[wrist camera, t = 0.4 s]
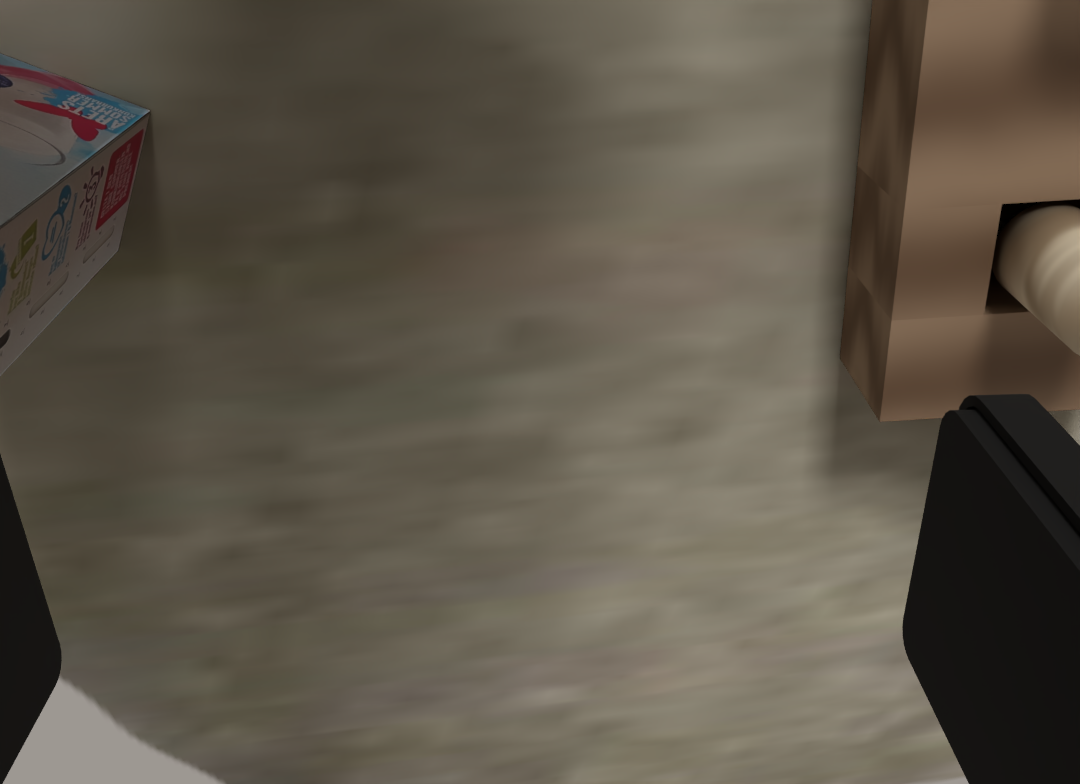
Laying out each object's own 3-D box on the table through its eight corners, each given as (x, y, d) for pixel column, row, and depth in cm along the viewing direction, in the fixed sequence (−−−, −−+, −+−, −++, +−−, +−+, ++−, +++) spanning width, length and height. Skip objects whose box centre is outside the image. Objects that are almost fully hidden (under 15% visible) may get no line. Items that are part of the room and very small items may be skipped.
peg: (999, 204, 40) (1071, 258, 35) (1103, 198, 40) (1190, 251, 35) (984, 299, 42) (1050, 364, 37) (1083, 293, 42) (1162, 357, 37)
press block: (906, -369, 35) (975, -405, 30) (1256, -393, 35) (1387, -432, 30) (839, 358, 49) (880, 421, 43) (1093, 342, 49) (1164, 404, 43)
